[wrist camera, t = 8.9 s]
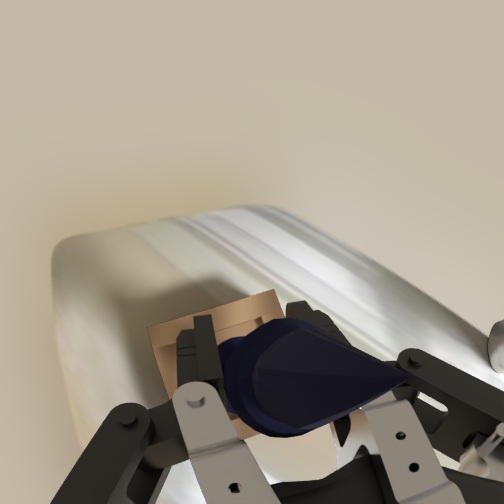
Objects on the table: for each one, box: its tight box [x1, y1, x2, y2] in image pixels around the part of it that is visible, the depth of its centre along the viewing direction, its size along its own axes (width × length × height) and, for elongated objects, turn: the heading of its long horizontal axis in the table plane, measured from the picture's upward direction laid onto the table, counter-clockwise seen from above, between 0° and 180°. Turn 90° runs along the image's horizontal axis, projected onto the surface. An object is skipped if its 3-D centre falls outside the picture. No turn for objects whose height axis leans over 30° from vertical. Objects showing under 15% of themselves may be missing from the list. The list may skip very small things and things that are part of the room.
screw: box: [217, 318, 413, 438], centre depth 10 cm, size 18×5×5 cm
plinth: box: [147, 289, 285, 440], centre depth 26 cm, size 12×12×6 cm
